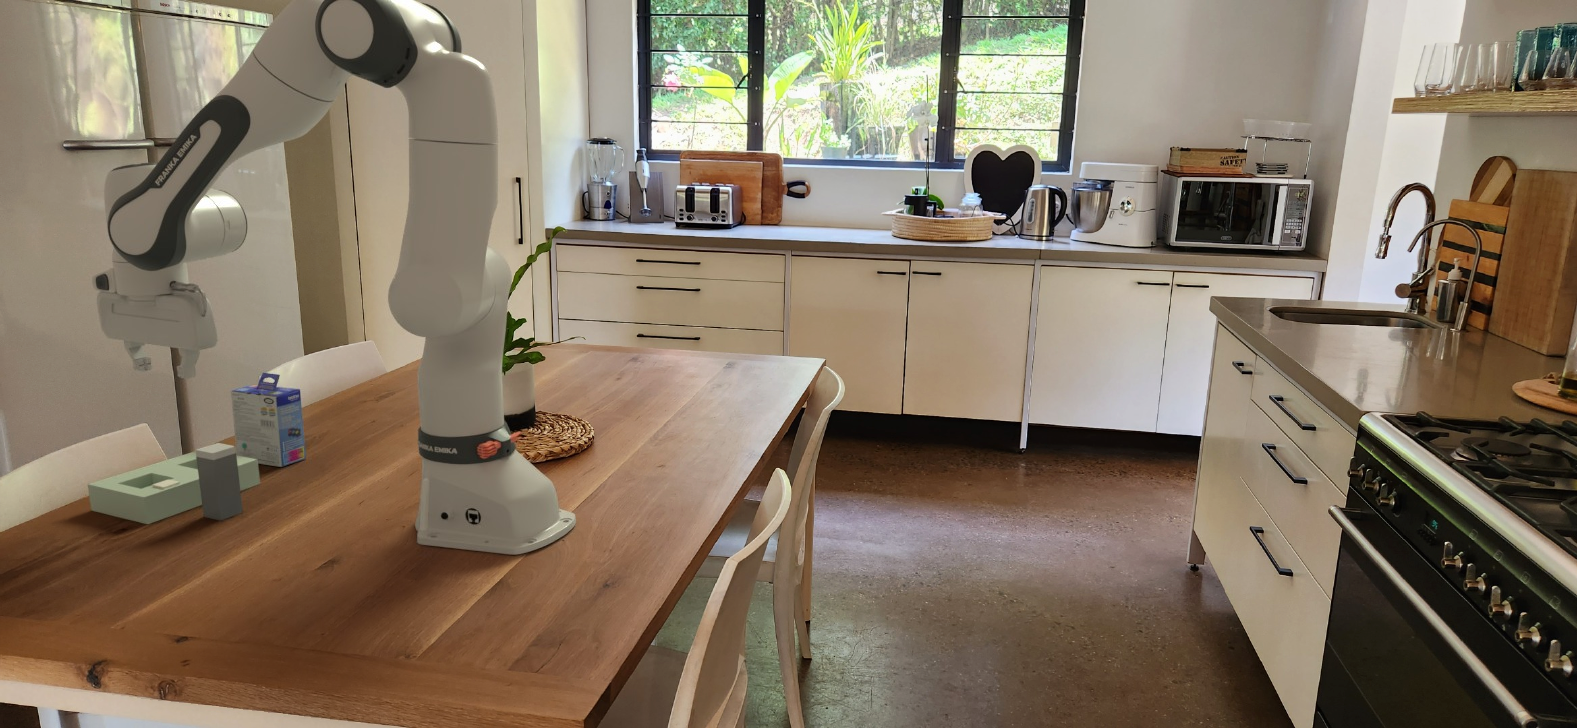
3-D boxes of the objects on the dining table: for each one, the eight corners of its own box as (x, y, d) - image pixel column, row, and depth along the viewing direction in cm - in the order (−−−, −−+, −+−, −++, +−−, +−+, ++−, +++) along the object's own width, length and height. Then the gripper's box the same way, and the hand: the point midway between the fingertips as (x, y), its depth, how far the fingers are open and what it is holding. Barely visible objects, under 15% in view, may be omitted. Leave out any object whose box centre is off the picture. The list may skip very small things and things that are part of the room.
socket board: (260, 483, 154) (257, 457, 153) (147, 524, 138) (143, 495, 137) (206, 472, 159) (203, 446, 158) (91, 510, 143) (87, 482, 142)
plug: (242, 512, 143) (235, 446, 141) (221, 520, 140) (212, 453, 138) (225, 508, 145) (218, 442, 142) (203, 516, 141) (195, 449, 139)
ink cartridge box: (309, 458, 167) (300, 374, 163) (283, 468, 161) (274, 382, 158) (262, 451, 170) (253, 369, 166) (235, 461, 164) (226, 376, 161)
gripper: (223, 281, 140) (234, 377, 143) (127, 271, 148) (139, 362, 151) (181, 287, 134) (194, 386, 137) (83, 277, 142) (97, 371, 145)
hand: (164, 373), depth 144 cm, fingers open, 8 cm apart
